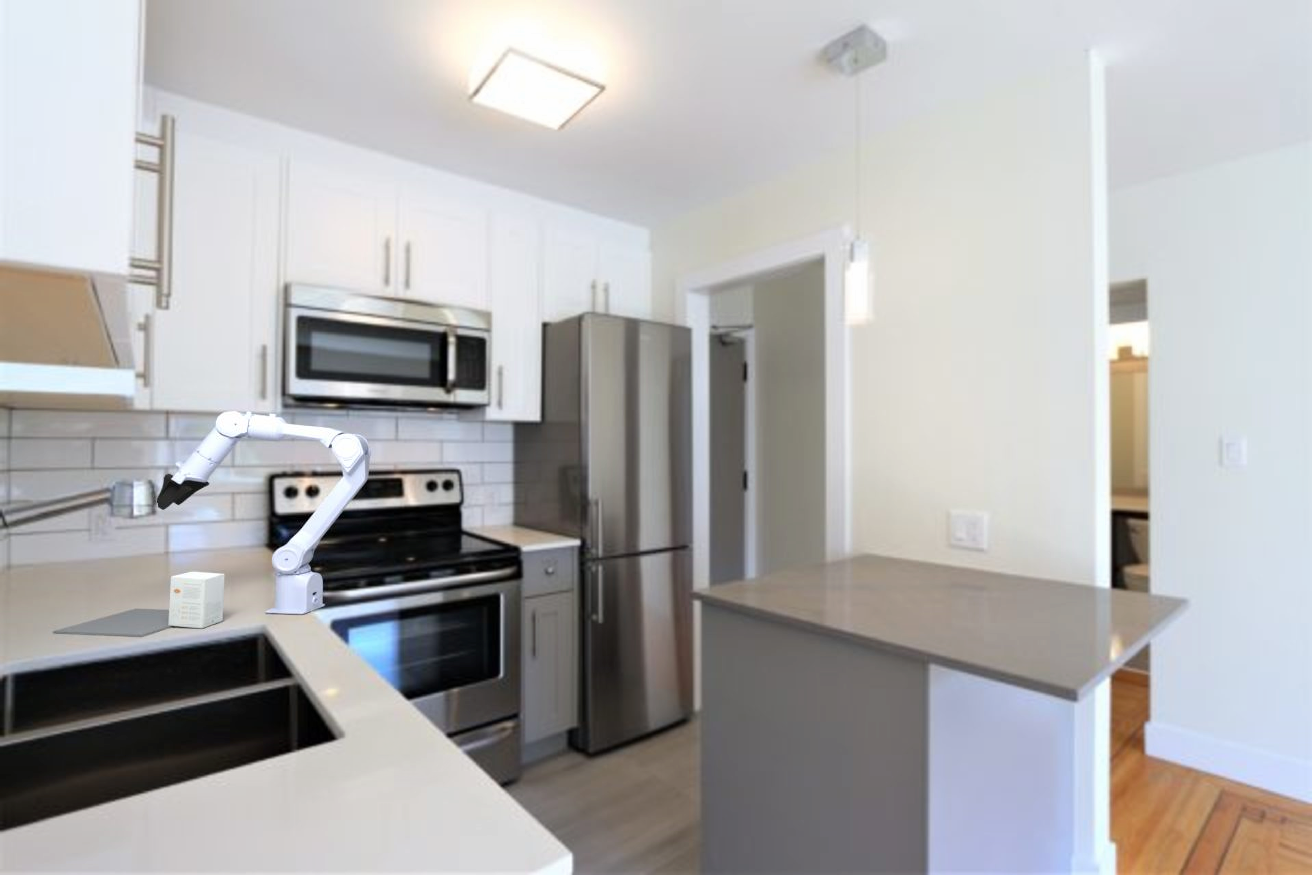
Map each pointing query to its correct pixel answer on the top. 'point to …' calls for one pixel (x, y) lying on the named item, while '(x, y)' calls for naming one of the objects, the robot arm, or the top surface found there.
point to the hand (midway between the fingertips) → (167, 504)
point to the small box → (196, 599)
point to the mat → (123, 624)
